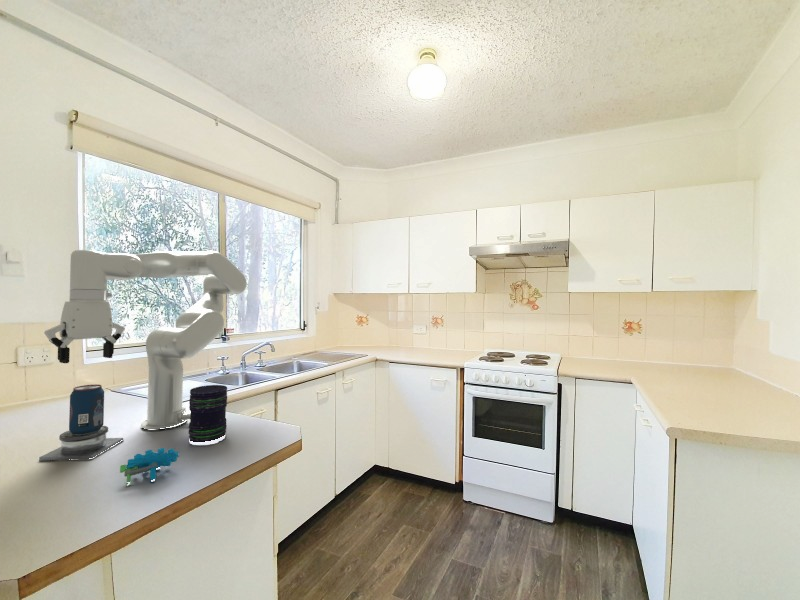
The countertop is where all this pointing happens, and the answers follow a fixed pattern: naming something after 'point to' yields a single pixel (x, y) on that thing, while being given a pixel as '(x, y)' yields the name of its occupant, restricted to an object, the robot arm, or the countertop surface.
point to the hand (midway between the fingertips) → (87, 360)
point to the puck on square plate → (81, 445)
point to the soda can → (86, 409)
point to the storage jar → (207, 413)
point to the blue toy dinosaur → (148, 462)
